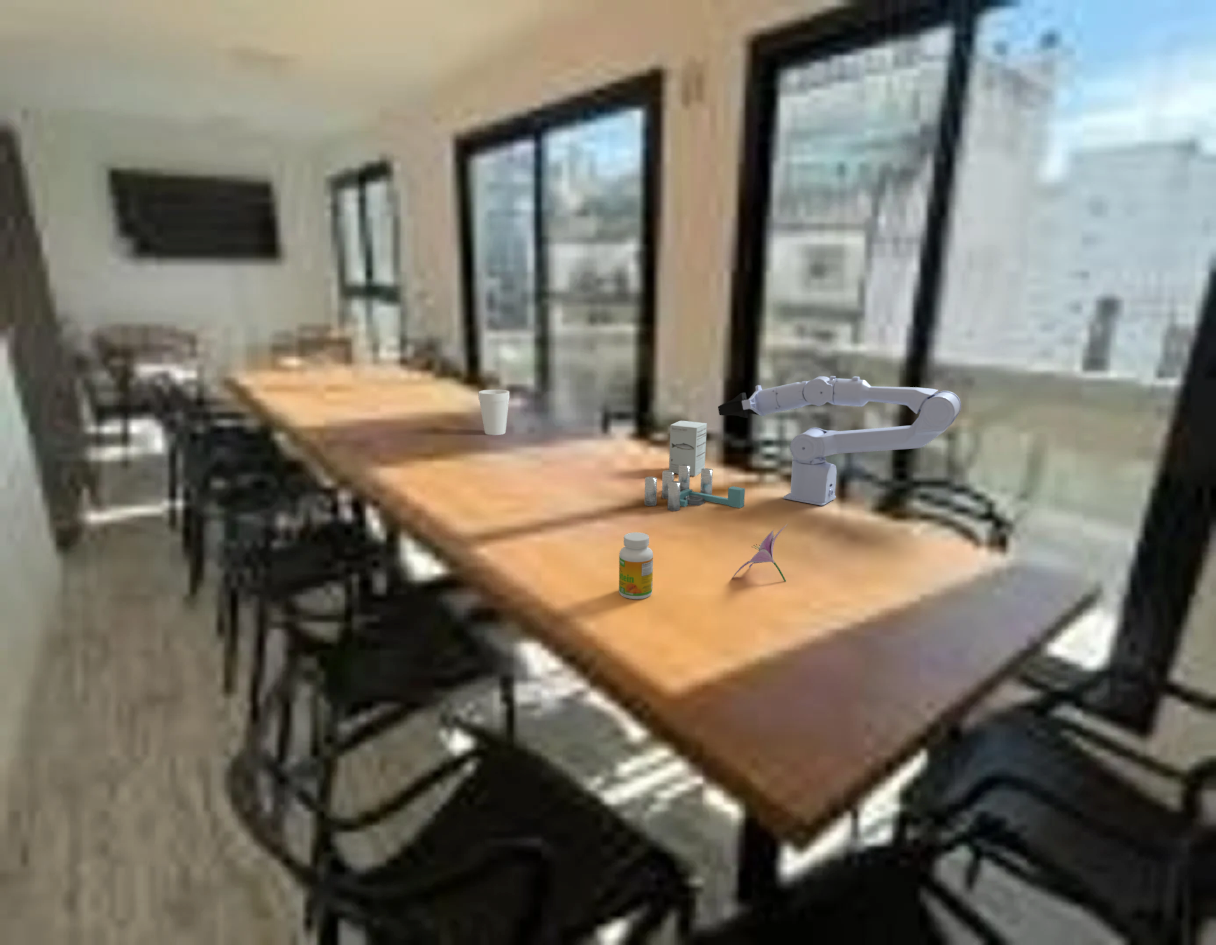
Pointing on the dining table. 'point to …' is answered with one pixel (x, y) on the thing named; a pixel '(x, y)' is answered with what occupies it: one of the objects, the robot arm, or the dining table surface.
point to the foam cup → (494, 410)
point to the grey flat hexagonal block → (695, 500)
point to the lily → (764, 552)
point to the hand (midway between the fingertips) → (726, 410)
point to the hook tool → (733, 499)
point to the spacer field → (675, 486)
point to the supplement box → (687, 446)
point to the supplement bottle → (635, 567)
